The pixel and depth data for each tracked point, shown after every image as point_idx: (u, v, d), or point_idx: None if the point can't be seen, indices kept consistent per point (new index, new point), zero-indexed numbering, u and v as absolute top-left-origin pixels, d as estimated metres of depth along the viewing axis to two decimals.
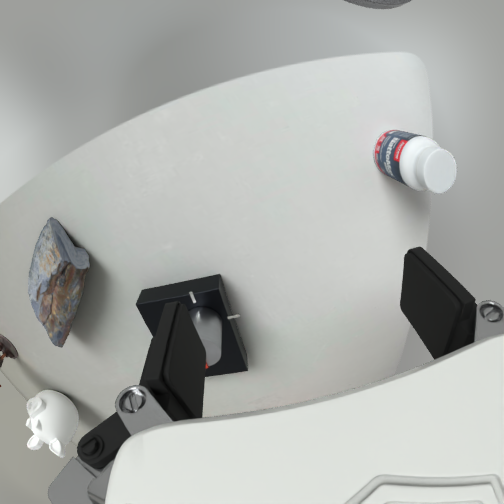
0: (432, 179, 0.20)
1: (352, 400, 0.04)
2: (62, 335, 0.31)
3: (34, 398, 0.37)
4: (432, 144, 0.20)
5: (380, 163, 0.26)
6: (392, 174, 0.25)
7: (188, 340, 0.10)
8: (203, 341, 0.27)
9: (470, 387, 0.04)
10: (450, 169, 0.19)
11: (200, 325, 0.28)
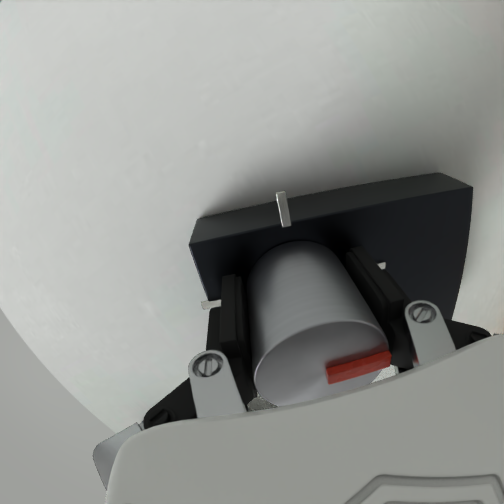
0: None
1: (352, 400, 0.04)
2: None
3: None
4: None
5: None
6: None
7: (246, 310, 0.11)
8: (269, 366, 0.08)
9: (470, 387, 0.04)
10: None
11: (250, 333, 0.10)
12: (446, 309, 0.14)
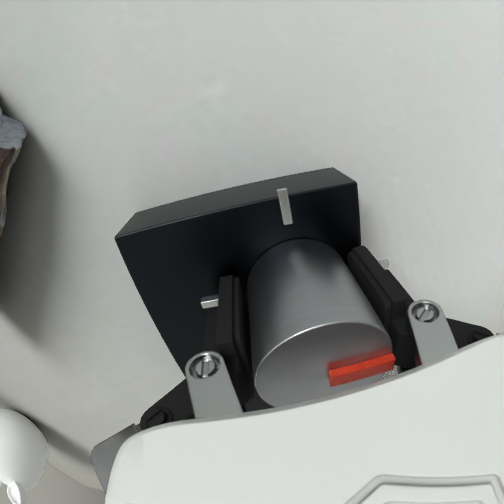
0: None
1: (352, 400, 0.04)
2: None
3: None
4: None
5: None
6: None
7: (244, 311, 0.11)
8: (270, 367, 0.07)
9: (470, 387, 0.04)
10: None
11: (251, 332, 0.09)
12: None
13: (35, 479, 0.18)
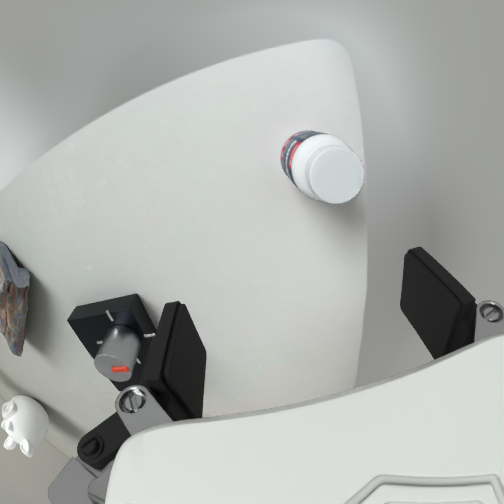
0: (324, 187, 0.18)
1: (352, 400, 0.04)
2: (17, 345, 0.30)
3: (8, 402, 0.36)
4: (333, 142, 0.19)
5: (285, 172, 0.25)
6: (294, 183, 0.23)
7: (188, 340, 0.10)
8: (96, 363, 0.26)
9: (470, 387, 0.04)
10: (353, 172, 0.18)
11: None
12: None
13: (39, 439, 0.36)
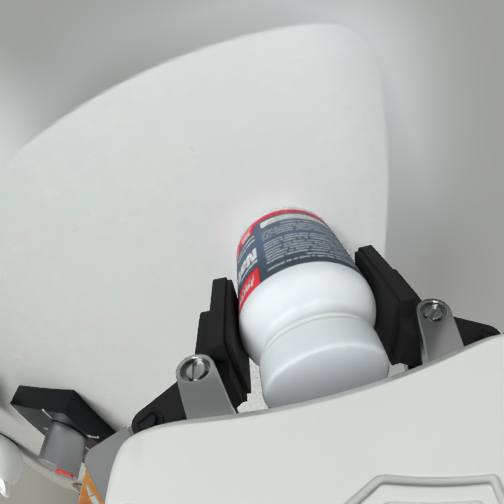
0: None
1: (352, 400, 0.04)
2: None
3: None
4: (333, 292, 0.09)
5: None
6: None
7: (237, 314, 0.11)
8: (41, 462, 0.15)
9: (470, 387, 0.04)
10: (366, 378, 0.08)
11: None
12: None
13: (15, 478, 0.26)
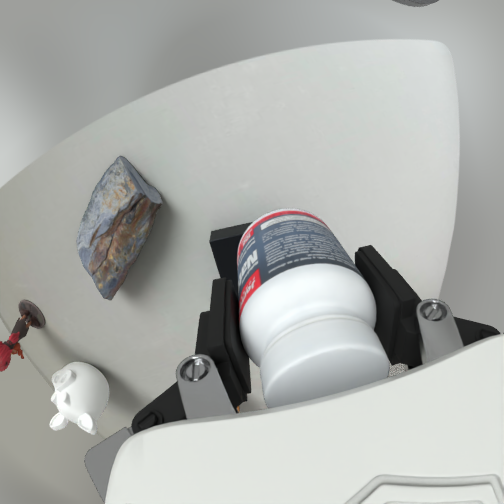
0: None
1: (352, 400, 0.04)
2: (116, 283, 0.33)
3: (61, 370, 0.40)
4: (333, 294, 0.09)
5: None
6: None
7: (237, 314, 0.11)
8: None
9: (470, 387, 0.04)
10: (366, 379, 0.08)
11: None
12: None
13: (100, 412, 0.40)
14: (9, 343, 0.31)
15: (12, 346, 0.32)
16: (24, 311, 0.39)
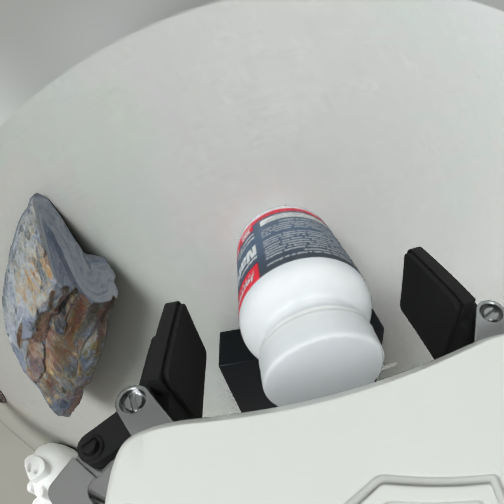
0: (295, 396, 0.08)
1: (352, 400, 0.04)
2: (69, 405, 0.16)
3: (34, 457, 0.23)
4: (329, 286, 0.09)
5: None
6: None
7: (188, 340, 0.10)
8: None
9: (470, 387, 0.04)
10: (361, 369, 0.08)
11: None
12: None
13: None
14: None
15: None
16: None
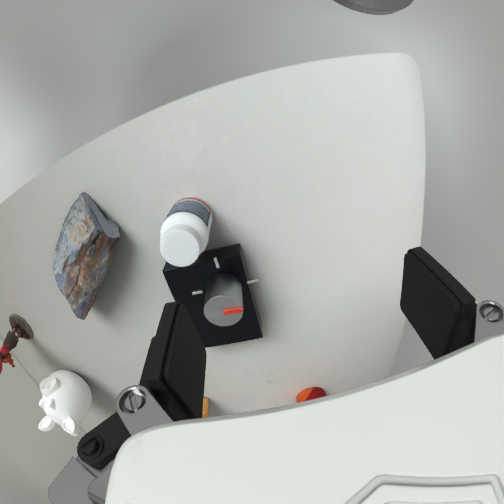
0: (171, 256, 0.27)
1: (352, 400, 0.04)
2: (86, 305, 0.35)
3: (48, 378, 0.41)
4: (183, 220, 0.28)
5: None
6: None
7: (188, 340, 0.10)
8: (207, 307, 0.31)
9: (470, 387, 0.04)
10: (190, 245, 0.27)
11: None
12: (210, 343, 0.40)
13: (83, 416, 0.42)
14: (0, 354, 0.33)
15: (3, 356, 0.34)
16: (14, 324, 0.41)
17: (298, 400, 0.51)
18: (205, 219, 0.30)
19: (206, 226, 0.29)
